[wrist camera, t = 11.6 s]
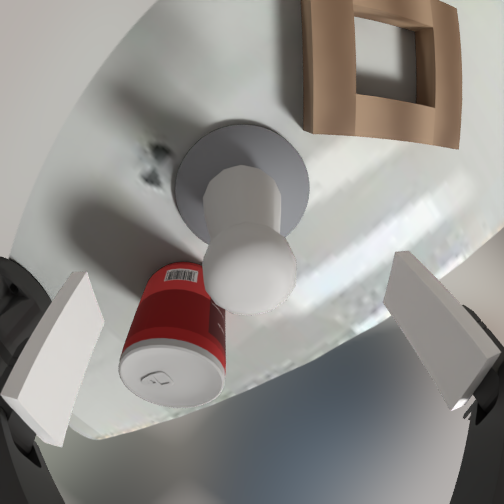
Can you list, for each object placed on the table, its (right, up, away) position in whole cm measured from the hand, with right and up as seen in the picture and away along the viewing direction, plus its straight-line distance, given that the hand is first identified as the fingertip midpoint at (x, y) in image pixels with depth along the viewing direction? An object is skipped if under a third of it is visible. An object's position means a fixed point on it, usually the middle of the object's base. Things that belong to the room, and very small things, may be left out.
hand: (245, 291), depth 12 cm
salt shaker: (-1, +6, +12) cm, 14 cm away
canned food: (-6, -2, +17) cm, 18 cm away
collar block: (+11, +18, +7) cm, 22 cm away
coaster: (0, +7, +12) cm, 14 cm away
